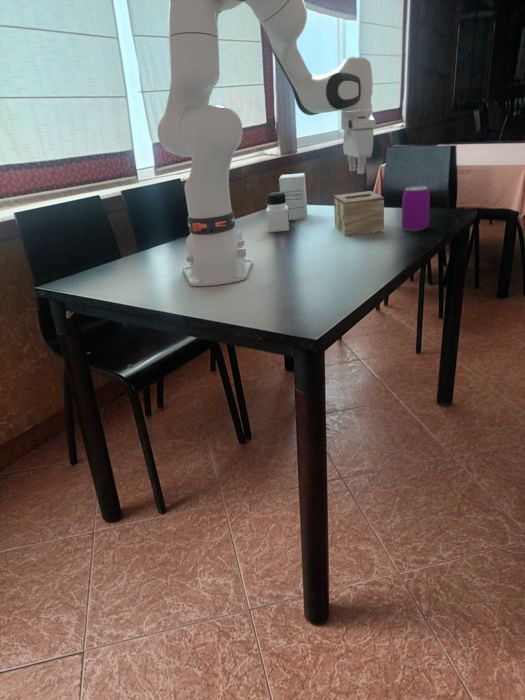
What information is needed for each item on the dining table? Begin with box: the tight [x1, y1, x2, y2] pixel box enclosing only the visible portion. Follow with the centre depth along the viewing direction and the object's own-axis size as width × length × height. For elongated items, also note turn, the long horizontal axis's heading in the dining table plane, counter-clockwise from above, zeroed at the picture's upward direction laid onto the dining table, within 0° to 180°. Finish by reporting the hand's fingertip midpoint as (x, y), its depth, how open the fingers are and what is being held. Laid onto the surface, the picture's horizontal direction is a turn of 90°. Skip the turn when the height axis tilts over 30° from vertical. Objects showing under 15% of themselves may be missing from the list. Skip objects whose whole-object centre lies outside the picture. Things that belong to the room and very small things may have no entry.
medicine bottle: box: [266, 191, 291, 233], centre depth 165 cm, size 7×7×12 cm
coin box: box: [333, 190, 385, 237], centre depth 154 cm, size 14×12×10 cm
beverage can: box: [401, 185, 431, 231], centre depth 146 cm, size 8×8×12 cm
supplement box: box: [278, 172, 308, 221], centre depth 180 cm, size 9×9×15 cm
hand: (356, 172), depth 149 cm, fingers open, 8 cm apart
